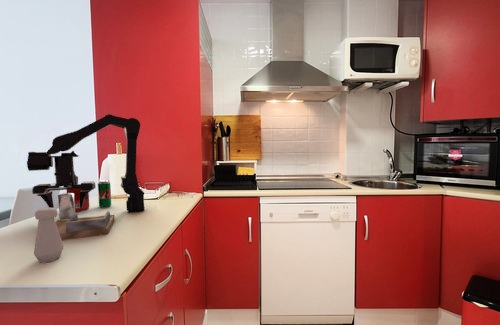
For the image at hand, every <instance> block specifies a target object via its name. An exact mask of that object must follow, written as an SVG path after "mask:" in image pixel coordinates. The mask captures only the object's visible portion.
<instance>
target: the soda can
mask: <svg viewBox="0 0 500 325" xmlns="http://www.w3.org/2000/svg"><path fill="white" fill-rule="evenodd" d="M97 192H98V194H97V196H98V206H99V207H100V208H108V207H111V206H112V190H111V182H110V179H109V180H107V179H106V180H99V181H98V183H97Z"/></svg>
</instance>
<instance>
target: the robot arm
mask: <svg viewBox="0 0 500 325" xmlns="http://www.w3.org/2000/svg"><path fill="white" fill-rule="evenodd" d="M109 126H113V127H118V128H121V129H124V134H125V138H126V148H125V150H126V152H125V154H126V156H125V174H124V176H120V179H121V183H120V187H121V189H122V190H123V192H124V193H125V194H127V195H128V197H127V199H126V201H125V202H126V203H125V205H126V211H127V213H129V214H130V213H136V212H137V213H139V212H145V197H144V195H145V192H144V191H143V190H142V189H141V188H140V187H139V182H138V177H137V140H138V137H139V134H140V130H141V122H140V121H139V119H137V118H135V117H130V118H126V117H121V116H117V115H112V114H108V113H107V114H106V115H105V116H103V117H101V118H99V119H97V120H95V121H93V122H91V123H89V124H87V125H85V126H83V127H82V128H79V129H78V130H75V131H71V132H68V133H65V134H62V135H58V136H56V137H54V138H53V139H52V142H51V143H52V146H50V147H49V149H47V151H41V152H39V151H38V152H37V151H29V152H28V154H27V155H28V156H27V161H26V166H27V170H28V171H29V172H31V171H49V170H50V168H53V167H54V173H53V174H54V176H55V183H54V185H52V184H51V183H40V184H36V185H34V186H33V187H32V190H31V191H32V195H36V196H37V197H41V198H42V200H43V201H44V202H45V203H46V205H47V206H48V208H55V206H54V200H53V199H54V198H53V191H63V190H65V191H67V190H68V189H81V190H82V191H81V192H80V208H82V207H83V204H84V200H85V197H86V195H87V193H88V192H89V193H90V192H92V191H94V189H96V181H94V180H93V181H92V180H91V181H82V182H81V183H79V177H78V176H77V175H76V172H75V168H74V158H76V157H77V158H79V156H80V155H79V154H78V153H77V152H75V150H72V151H71V152H67V151H69V150H71V149H72V148H74V147H75V146H77V144H79V143H80V142H81V141H82V140H84V139H86V138H87V137H90V136H92V135H93V134H96V133H97V132H99V131H101V130H103V129H105V128H107V127H109ZM60 152H61V153H60ZM59 153H60V155H58V154H59ZM56 154H57V155H56Z"/></svg>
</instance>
